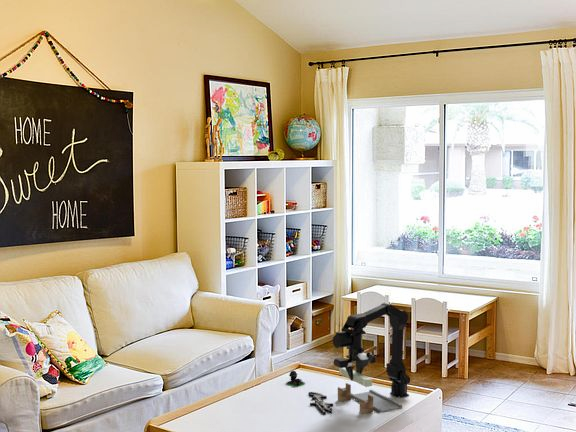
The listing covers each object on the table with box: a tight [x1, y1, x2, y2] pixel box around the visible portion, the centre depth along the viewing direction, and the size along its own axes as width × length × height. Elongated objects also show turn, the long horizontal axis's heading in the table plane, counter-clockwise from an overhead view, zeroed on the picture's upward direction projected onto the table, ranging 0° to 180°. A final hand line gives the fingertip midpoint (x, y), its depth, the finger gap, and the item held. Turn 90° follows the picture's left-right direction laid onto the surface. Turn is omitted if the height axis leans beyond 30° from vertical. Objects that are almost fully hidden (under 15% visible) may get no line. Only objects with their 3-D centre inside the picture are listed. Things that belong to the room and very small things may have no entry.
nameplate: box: [308, 391, 334, 416], centre depth 319 cm, size 28×2×10 cm
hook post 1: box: [337, 382, 352, 403], centre depth 324 cm, size 5×3×7 cm, turn 117°
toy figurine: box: [285, 370, 306, 388], centre depth 348 cm, size 10×10×6 cm
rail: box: [338, 367, 373, 388], centre depth 315 cm, size 22×3×3 cm, turn 27°
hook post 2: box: [359, 395, 374, 415], centre depth 308 cm, size 5×3×7 cm, turn 117°
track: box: [351, 388, 403, 414], centre depth 321 cm, size 12×24×2 cm, turn 27°
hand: (354, 379), depth 315 cm, fingers closed on rail, 3 cm apart
